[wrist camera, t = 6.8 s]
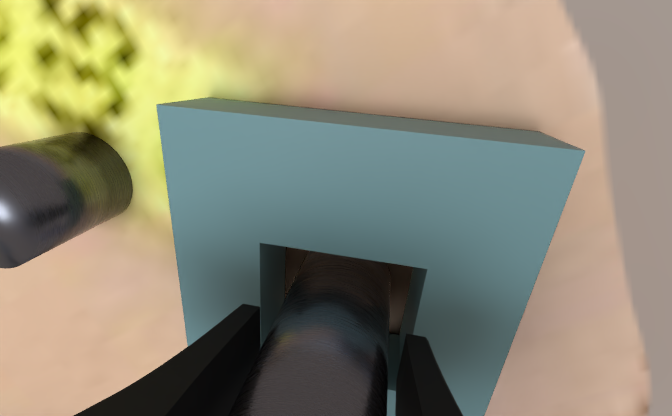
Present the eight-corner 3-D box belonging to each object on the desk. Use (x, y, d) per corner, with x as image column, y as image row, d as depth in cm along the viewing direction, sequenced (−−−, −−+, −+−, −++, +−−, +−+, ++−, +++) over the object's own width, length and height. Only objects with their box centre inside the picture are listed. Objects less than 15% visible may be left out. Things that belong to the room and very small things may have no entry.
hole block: (450, 410, 17) (460, 476, 14) (227, 363, 18) (196, 415, 15) (539, 131, 11) (585, 150, 8) (208, 97, 13) (156, 104, 10)
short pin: (139, 221, 16) (46, 276, 11) (65, 211, 16) (-49, 259, 12) (122, 136, 14) (8, 164, 10) (41, 128, 14) (-99, 151, 10)
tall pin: (377, 323, 15) (357, 610, 7) (296, 300, 16) (186, 551, 7) (401, 251, 14) (408, 516, 6) (309, 227, 14) (187, 444, 6)
